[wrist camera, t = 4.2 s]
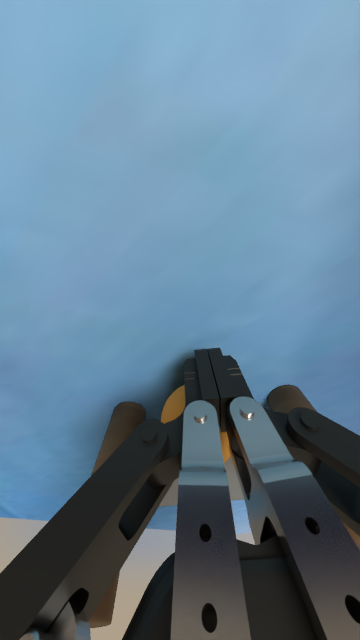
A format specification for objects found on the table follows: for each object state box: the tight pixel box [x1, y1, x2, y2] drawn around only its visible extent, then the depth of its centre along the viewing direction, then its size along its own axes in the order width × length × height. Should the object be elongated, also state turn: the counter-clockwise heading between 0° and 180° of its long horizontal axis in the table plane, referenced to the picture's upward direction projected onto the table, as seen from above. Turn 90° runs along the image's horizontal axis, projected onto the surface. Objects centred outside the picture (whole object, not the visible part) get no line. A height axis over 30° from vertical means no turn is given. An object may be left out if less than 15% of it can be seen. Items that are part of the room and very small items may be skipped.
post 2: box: [268, 385, 360, 550], centre depth 11 cm, size 3×3×9 cm
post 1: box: [88, 402, 146, 628], centre depth 11 cm, size 3×3×9 cm
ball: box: [161, 385, 231, 463], centre depth 12 cm, size 5×5×5 cm
